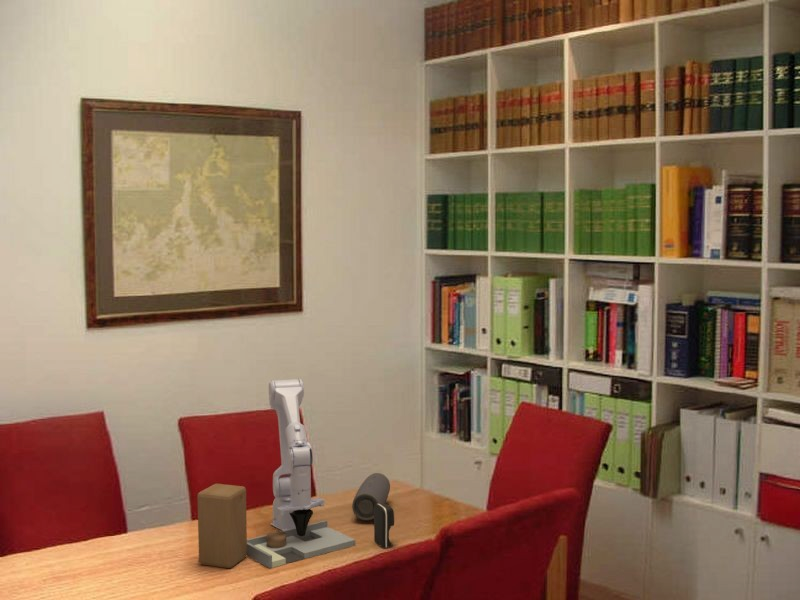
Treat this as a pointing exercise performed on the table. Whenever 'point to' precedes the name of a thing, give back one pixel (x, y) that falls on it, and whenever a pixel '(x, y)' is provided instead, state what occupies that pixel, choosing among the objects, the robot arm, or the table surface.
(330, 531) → the trap board
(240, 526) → the wooden block
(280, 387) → the robot arm
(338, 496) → the table surface
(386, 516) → the battery charger
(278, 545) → the puck
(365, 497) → the bluetooth speaker
